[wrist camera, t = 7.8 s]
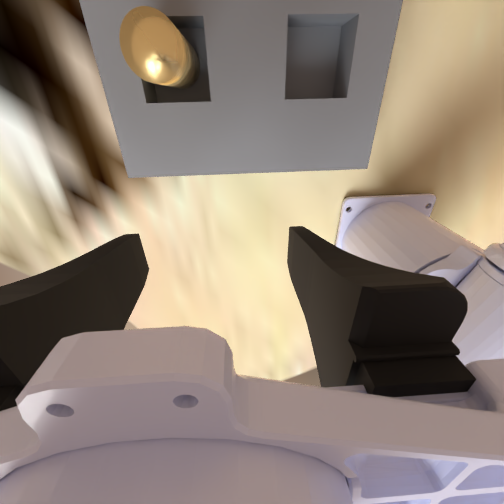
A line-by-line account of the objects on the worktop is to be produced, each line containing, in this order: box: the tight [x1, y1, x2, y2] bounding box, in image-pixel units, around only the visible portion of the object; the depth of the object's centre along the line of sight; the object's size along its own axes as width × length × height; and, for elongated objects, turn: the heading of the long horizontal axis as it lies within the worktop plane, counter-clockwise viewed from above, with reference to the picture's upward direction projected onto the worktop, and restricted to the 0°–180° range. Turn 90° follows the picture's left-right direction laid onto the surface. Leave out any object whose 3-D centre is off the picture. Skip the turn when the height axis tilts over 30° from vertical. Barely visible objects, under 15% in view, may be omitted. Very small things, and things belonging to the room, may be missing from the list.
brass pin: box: [119, 6, 200, 89], centre depth 13 cm, size 2×2×6 cm
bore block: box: [79, 0, 403, 178], centre depth 15 cm, size 12×16×3 cm
